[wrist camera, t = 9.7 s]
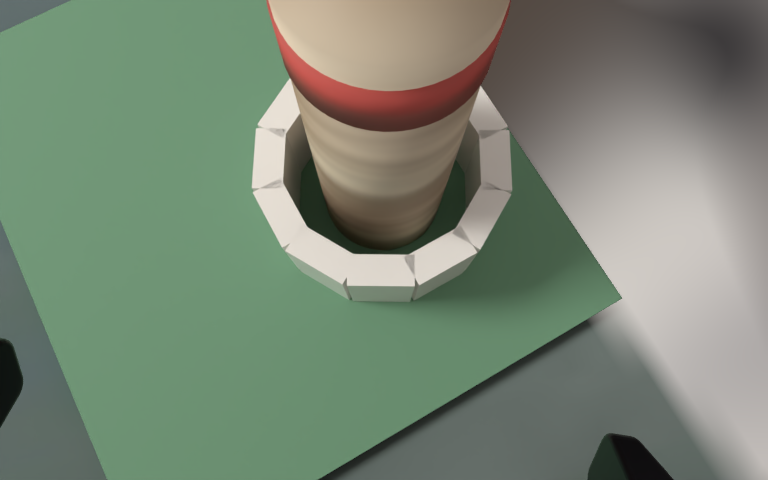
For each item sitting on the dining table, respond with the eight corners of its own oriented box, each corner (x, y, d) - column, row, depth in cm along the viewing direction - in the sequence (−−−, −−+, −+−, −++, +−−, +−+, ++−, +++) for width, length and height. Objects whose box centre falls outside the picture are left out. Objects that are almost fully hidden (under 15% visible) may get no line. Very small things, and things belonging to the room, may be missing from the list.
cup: (533, 233, 21) (561, 205, 18) (338, 343, 20) (329, 336, 17) (421, 61, 23) (427, 6, 20) (237, 155, 22) (210, 114, 19)
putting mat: (616, 300, 21) (622, 298, 21) (154, 575, 19) (148, 580, 18) (340, -113, 26) (339, -123, 25) (-56, 68, 24) (-65, 62, 23)
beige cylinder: (448, 245, 21) (543, 57, 9) (329, 257, 21) (263, 82, 9) (432, 136, 22) (499, -162, 10) (320, 146, 22) (250, -144, 10)
